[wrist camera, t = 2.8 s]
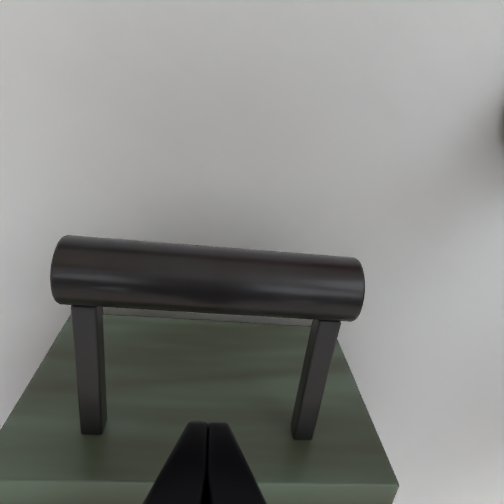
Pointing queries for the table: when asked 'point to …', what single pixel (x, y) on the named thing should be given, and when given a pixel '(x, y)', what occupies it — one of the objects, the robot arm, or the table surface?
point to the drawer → (194, 376)
